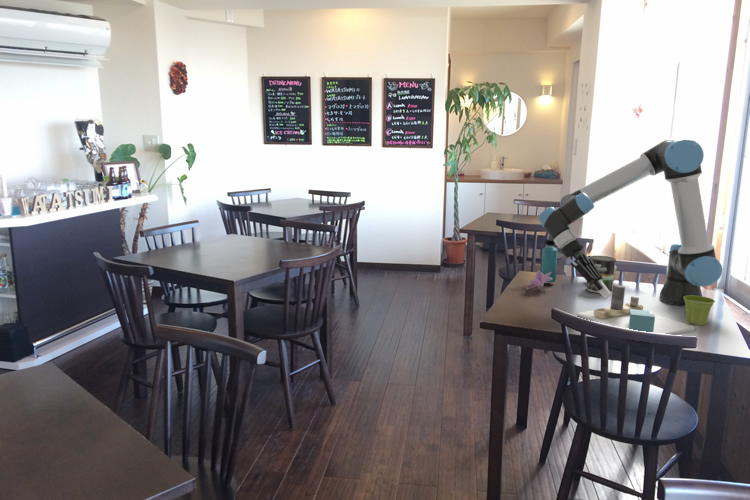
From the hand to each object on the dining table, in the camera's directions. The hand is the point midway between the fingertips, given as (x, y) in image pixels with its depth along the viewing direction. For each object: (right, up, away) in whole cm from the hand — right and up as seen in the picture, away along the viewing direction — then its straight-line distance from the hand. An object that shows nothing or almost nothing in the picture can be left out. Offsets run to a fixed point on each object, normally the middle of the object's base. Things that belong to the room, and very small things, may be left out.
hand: (608, 296), depth 198 cm
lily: (-15, -1, +32) cm, 35 cm away
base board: (+6, -9, -6) cm, 12 cm away
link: (+4, -6, 0) cm, 7 cm away
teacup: (+18, +2, +49) cm, 53 cm away
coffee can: (+11, -1, +35) cm, 37 cm away
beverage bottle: (-8, +2, +45) cm, 46 cm away
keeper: (+5, -9, -14) cm, 17 cm away
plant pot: (+28, -9, -5) cm, 30 cm away
